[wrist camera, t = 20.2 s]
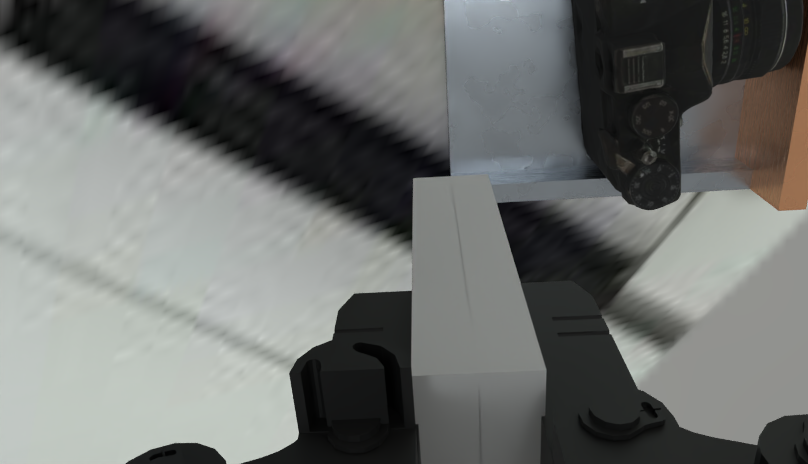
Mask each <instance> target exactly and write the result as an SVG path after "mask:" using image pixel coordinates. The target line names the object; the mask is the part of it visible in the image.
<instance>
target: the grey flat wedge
mask: <svg viewBox="0 0 808 464" xmlns="http://www.w3.org/2000/svg"><path fill="white" fill-rule="evenodd" d="M443 1H444V26H445V52H446V77H447V103H448V128H449V154H450V176H464V175H482V174H488V176H489V180H490V183H491V186H492V190H493V193H494V196H495V200H496V203H500V202H518V201H537V200H555V199H573V198H591V197H610V196H622V194H621V192H619V191H617V190H616V189H615V188H614V187H613V186H612V184H611V183H610V181H609V180H608V179H607V178H606V177H605V175H604V174H603V173H602V172H601V170H600V169H599V168H598V166H597V165H596V164H595V163H594V162H593V161H592V160H591V158H590V157H589V156H588V154H587V151H586V149H585V147H584V140H583V134H582V129H581V105H580V97H579V88H578V65H577V60H576V52H575V36H574V25H573V15H572V3H571V0H443ZM803 6H804V7H803V26H802V34H801V39H800V42H799V45H798V47H797V50H796V52H795V54H794V56H793V58H792V59H791V61H790V62H789V63H788V64H787V65H786V66H784V67H783V68H782V69H779V70H776V71H772V72H768V73H767V74H765V75H764V76H763V77H757V78H751V79H744V80H734V81H731V82H729V83H725V84H720V85H716V86H715V87H713V88H712V95H711V96H710V98H709V99H707V100H706V101H704V102H702V103H700V104H698V105H695V106H693V107H691V108H689V109H688V110H687V111H685V112H684V113H683V115H682V119H683V125H682V127H680V159H681V193H683V192H701V191H719V190H738V189H751V190H752V191H753V192H755V193H756V194H757V195H759V196H760V197H761V198H763V199H764V200H765V201H767V202H768V203H769V204H770V205H772V206H773V207H774V208H776V209H777V210H778V211H782V210H801V209H806V206H807V201H808V0H803Z"/></svg>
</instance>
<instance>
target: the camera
mask: <svg viewBox="0 0 808 464" xmlns="http://www.w3.org/2000/svg"><path fill="white" fill-rule="evenodd" d="M571 3H572V15H573V25H574V36H575V52H576V60H577V65H578V88H579V97H580V105H581V129H582V134H583V140H584V147H585V149H586V151H587V154H588V156H589V157H590V158H591V160H592V161H593V162H594V163H595V164H596V165H597V166H598V168H599V169H600V170H601V172H602V173H603V174H604V175H605V177H606V178H607V179H608V180H609V181H610V183H611V184H612V186H613V187H614V188H615V189H616V190H617V191H619V192H621V194H622V197H623V198H624V199H625V200H626V201H627V202H628V203H629V204H632V205H635V206H636V207H639V208H641V209H645V210H654V209H658V208H661V207H663V206H666V205H668V204H670V203H672V202H675V201H677V200H678V199H679V197H680V195H681V159H680V127H682V125H683V119H682V115H683V113H684V112H685V111H687V110H688V109H689V108H691V107H693V106H695V105H698V104H700V103H702V102H704V101H706V100H707V99H709V98H710V96H711V95H712V88H713V87H715V86H716V85H720V84H725V83H729V82H731V81H734V80H744V79H751V78H757V77H763V76H764V75H765V74H767V73H768V72H772V71H776V70H779V69H782V68H783V67H784V66H786V65H787V64H788V63H789V62H790V61H791V59H792V58H793V56H794V54H795V52H796V50H797V47H798V45H799V42H800V39H801V34H802V26H803V7H804V6H803V0H571Z"/></svg>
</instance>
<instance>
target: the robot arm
mask: <svg viewBox="0 0 808 464" xmlns="http://www.w3.org/2000/svg"><path fill="white" fill-rule="evenodd" d="M289 375H290V381H291V387H292V393H293V399H294V405H295V411H296V417H297V423H298V429H299V436H298V439H297V440H296V441H295V442H294V443H292V444H291V445H289V446H287V447H285V448H284V449H282V450H280V451H278V452H276V453H273V454H270V455H268V456H265V457H262V458H259V459H256V460H252V461H248V462H245V463H241V464H808V414H806V415H793V416H784V417H781V418H779V419H777V420H775V421H772V422H770V423H768V424H767V425H766V427H765V428H764V430H763V431H762V433H761V434H760V436H759V440H758V445H753V444H746V443H741V442H736V441H730V440H725V439H719V438H714V437H709V436H705V435H701V434H698V433H694V432H691V431H688V430H686V429H684V428H681V427H679V425H678V423H677V422H676V420H675V418H674V416H673V415H672V414H671V413H670V412H669V410H668V409H667V408H666V407H665V406H664V404H663V403H662V402H660V401H658V400H657V399H655V398H654V397H652V396H650V395H649V394H647V393H645V392H644V391H641V390H638V389H637V387H636V385H635V382H634V380H633V378H632V376H631V374H630V372H629V370H628V368H627V366H626V364H625V362H624V360H623V358H622V356H621V354H620V352H619V350H618V348H617V345H616V343H615V341H614V339H613V337H612V335H611V334H609V329H608V327H607V325H606V323H605V321H604V319H602V315H601V313H600V311H599V308H598V306H597V304H596V302H595V300H594V298H593V296H592V295H590V294H589V293H588V292H586V291H585V290H584V289H582V288H581V287H580V286H578V285H577V284H575V283H574V282H573V281H555V282H535V283H520V280H519V277H518V273H517V270H516V267H515V263H514V260H513V257H512V253H511V250H510V246H509V243H508V240H507V236H506V233H505V230H504V226H503V223H502V220H501V216H500V213H499V210H498V206H497V203H496V200H495V196H494V193H493V190H492V186H491V183H490V180H489V176H488V174H482V175H464V176H446V177H428V178H413V244H412V291H399V292H378V293H358V294H354V295H353V296H352V297H351V298H350V299H349V300H348V301H347V302H346V303H345V304H344V305H343V306H342V307H341V308H340V310H339V311H338V315H337V320H336V325H335V334H334V335H333V339H332V340H331V341H329V342H326V343H324V344H321V345H319V346H316V347H313V348H312V349H311V350H309V351H308V352H307V353H305V354H304V355H303V356H301V357H300V358H299V359H297V361H296V363H295V364H294V366H293V368H292V369H291V371H290V373H289ZM126 464H226V460H225V459H224V458H223V457H222V456H221V455H220V454H219V453H218V452H217V451H216V450H215V449H213V448H210V447H207V446H204V445H201V444H198V443H174V444H170V445H167V446H163V447H159V448H155V449H152V450H149V451H147V452H146V453H144V454H142V455H140V456H138V457H136V458H134V459H132V460H130V461H128V462H127V463H126Z"/></svg>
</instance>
